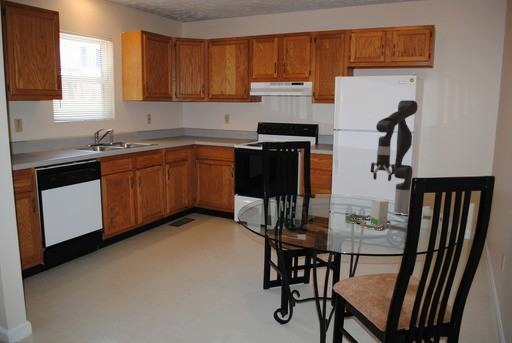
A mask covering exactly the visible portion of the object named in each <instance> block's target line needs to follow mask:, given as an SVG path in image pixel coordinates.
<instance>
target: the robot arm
mask: <svg viewBox="0 0 512 343" xmlns="http://www.w3.org/2000/svg"><path fill="white" fill-rule="evenodd" d="M417 111H418V103H417V101H416V100H400V101H399V102H398V105H397V111H394V112H393V113H391V114H390V115H389V116H388V117H384V118H382V119H380V120H378V122H377V123H376V127H375V128H376V130H377V132H379V133H385V135H384V136H379V137H378V145H377V151H376V154H377V155H376V156H377V157H376V162H371V164H370V173H372V174H373V176H372V179H373V180H375V181H376V180H377V176H378V174H377V173H378V171H383V172H386V173H387V174H388V177H387V181H388V182H391V181H392V176H393V175H394V178H395V179H400V180H403V179H404V181H403V182H401V183H397V184H395V195H394V211H393V213H394V212H396V213H403V214H408V207H409V208H410V202H409V196H410V197H411V186H412V180H411V179H412V178H413V167H412V166H411V165H407V164H402V163H403V159H404V157H405V155H406V154H407V153H408V151H409V150H410V149H411V147H412V143H413V134H412V131H411V130H410V127H409V126H408V124H407V121H406V119H407V118H409V117H410V116H413V115H415V114H416V113H417ZM396 126H397V135H396V136H397V137H396V155H395V160H394V163H390V161H391V151H392V150H391V145H392V144H391V143H392V142H391V141H392V137H393V134H394V132H395V128H396ZM375 167H376V168H375ZM390 168H391V169H390Z"/></svg>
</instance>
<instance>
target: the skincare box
mask: <svg viewBox="0 0 512 343" xmlns="http://www.w3.org/2000/svg"><path fill="white" fill-rule="evenodd" d="M388 212H389V200H387V199H383V198H381V197H380V198H379V197H378V198H372V199H371V208H370V215H371V217H370V220H369V223H370V222H371V223H373V224H375V225H377V226H380V225H381V224H383V225H384V227H386V226H387V225H388V224H387V220H388V214H389V213H388ZM373 224H372V225H373ZM375 225H374V226H375ZM385 225H386V226H385Z"/></svg>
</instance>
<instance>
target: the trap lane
mask: <svg viewBox="0 0 512 343" xmlns="http://www.w3.org/2000/svg"><path fill="white" fill-rule="evenodd" d="M368 217H371V214H367V215H362V214H357V213H356V211H353V212H351V213H349V214H347V215H345V222H346V221H347V222H346V223H348V222H354V223H360V225H359V227H360V226H362V227H367V228H374V229H378V230H377V231H380V230H379V229H381V228H383V229H385V226H384V225H383V224H381V225H380V226H375V225H373V224H367V221H366V220H359V219H352V218H362V219H366V218H368ZM354 223H353V224H354ZM387 223H390V224H391V220H388V219H387ZM362 227H361V228H362ZM367 228H366V229H367ZM381 230H382V229H381Z"/></svg>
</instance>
